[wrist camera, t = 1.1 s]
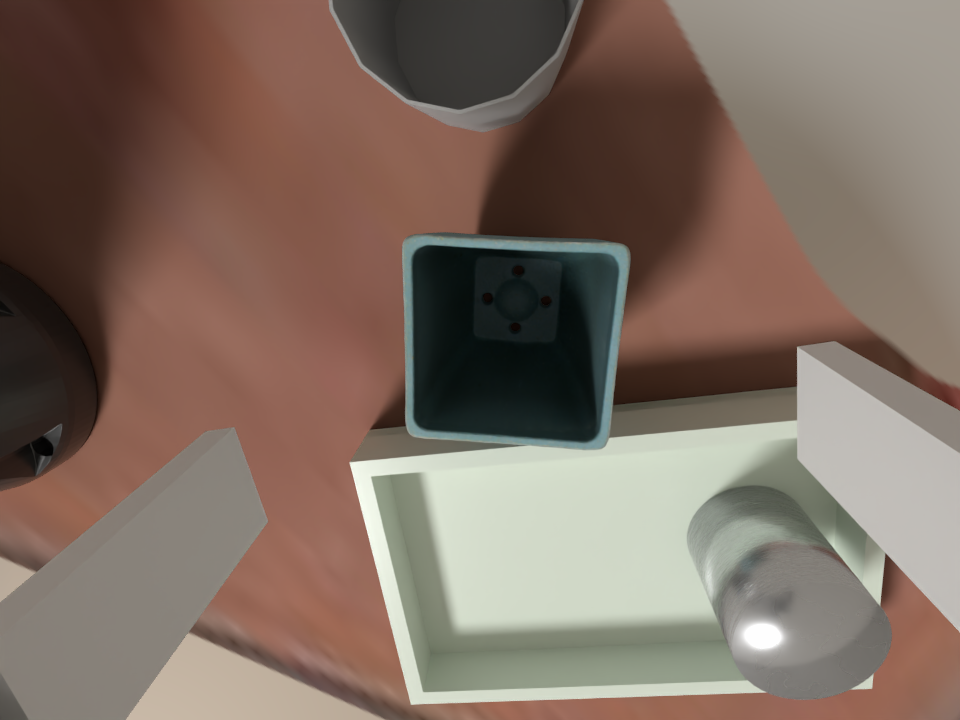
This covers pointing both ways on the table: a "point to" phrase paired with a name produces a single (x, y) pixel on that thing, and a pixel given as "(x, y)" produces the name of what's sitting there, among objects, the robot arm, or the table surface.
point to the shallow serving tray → (578, 550)
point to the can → (785, 596)
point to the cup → (461, 53)
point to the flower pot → (512, 338)
